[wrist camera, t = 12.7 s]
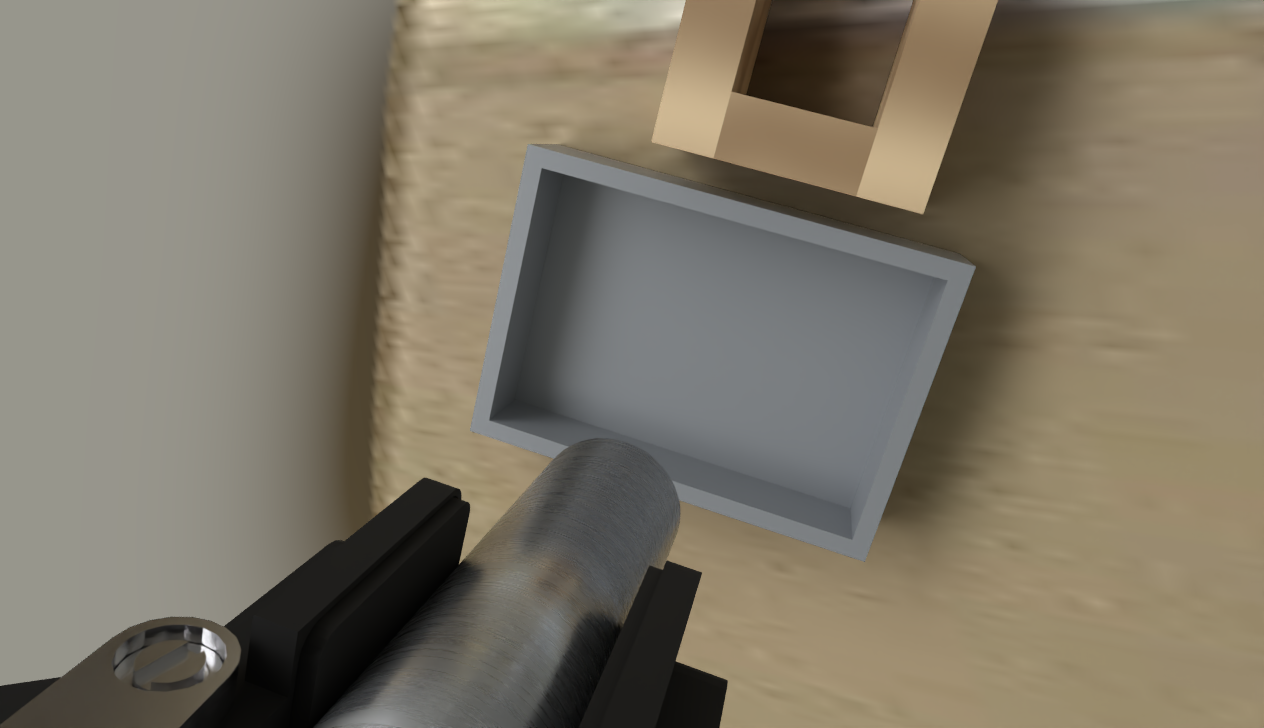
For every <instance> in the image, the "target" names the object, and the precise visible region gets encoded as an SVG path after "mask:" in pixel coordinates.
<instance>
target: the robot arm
mask: <svg viewBox="0 0 1264 728" xmlns="http://www.w3.org/2000/svg"><path fill="white" fill-rule="evenodd" d="M469 513H470V504H469V503H468V502H465V501H463V500H461V491H460V489H457V488H454V487H452V486H449V485H446V484H443V483H440V482H437V481H434V480H431V479H428V478H423V479H421V480H420V481H419V482H417V483H416V484H415V485H414V486H412V487H411V488H410V489H409V490H407V491H406V492H405V493H404V494H403V495H401V496H400V497H399V498H398V499H396V500H395V501H394V502H393V503H391V504H390V505H389V506H388V507H386V508H385V509H384V510H383V511H381V512H380V513H379V514H378V515H376V516H375V517H374V518H373V519H371V520H370V521H369V522H368V523H366V524H365V525H364V526H363V527H362V528H360V529H359V530H358V531H357V532H355V533H354V534H353V535H352V536H350V537H349V538H348V539H347V540H346V541H342V540H336V541H334V542H332V543H330V544H328V545H327V546H326V547H324V548H323V549H322V550H321V551H319V552H318V553H317V554H315V555H314V556H313V557H312V558H311V559H309V560H308V561H307V562H305V563H304V564H303V565H302V566H300V567H299V568H298V569H296V570H295V571H294V572H293V573H291V574H290V575H289V576H288V577H286V578H285V579H284V580H282V581H281V582H280V583H279V584H277V585H276V586H275V587H274V588H272V589H271V590H270V591H268V592H267V593H266V594H265V595H263V596H262V597H261V598H259V599H258V600H257V601H256V602H254V603H253V604H252V605H251V606H249V607H248V608H247V609H245V610H244V611H243V612H242V613H240V614H239V615H238V616H237V617H235V618H234V619H233V620H232V621H230V622H229V623H228V624H226V625H225V626H221V625H219V624H217V623H215V622H213V621H210V620H205V619H200V618H195V617H166V618H161V619H154V620H149V621H146V622H143V623H140V624H137V625H134V626H132V627H129V628H127V629H126V630H124V631H122V632H121V633H119V634H117V635H116V636H114V637H112V638H111V639H110V640H109V641H107V642H106V643H105V644H103V645H102V646H101V647H99V648H98V649H97V650H96V651H94V652H93V653H92V654H90V655H89V656H88V657H87V658H85V659H84V660H83V661H81V662H80V663H79V664H78V665H76V666H75V667H74V668H72V669H71V670H70V671H69V672H67V673H66V674H65V675H63V676H62V677H58V678H52V679H45V680H38V681H31V682H24V683H17V684H11V685H4V686H0V728H313V727H314V726H315V725H316V724H317V723H318V721H319V720H320V719H321V718H322V717H323V716H324V715H325V714H326V713H327V711H328V710H329V709H330V708H331V707H332V706H333V705H334V704H335V703H336V701H337V700H338V699H339V698H340V697H341V696H342V695H343V694H344V692H345V691H346V690H347V689H348V688H349V687H350V686H351V685H352V684H353V682H354V681H355V680H356V679H357V678H358V677H359V676H360V675H361V674H362V672H363V671H364V670H365V669H366V668H367V667H368V666H369V665H370V663H371V662H372V661H373V660H374V659H375V658H376V657H377V656H378V655H379V653H380V652H381V651H382V650H383V649H384V648H385V647H386V646H387V645H388V643H389V642H390V641H391V640H392V639H393V638H394V637H395V636H396V634H397V633H398V632H399V631H400V630H401V629H402V628H403V627H404V626H405V624H406V623H407V622H408V621H409V620H410V619H411V618H412V617H413V616H414V614H415V613H416V612H417V611H418V610H419V609H420V608H421V607H422V605H423V604H424V603H425V602H426V601H427V600H428V599H429V598H430V597H431V595H432V594H433V593H434V592H435V591H436V590H437V589H438V588H439V587H440V585H441V584H442V583H443V582H444V581H445V580H446V579H447V578H448V576H449V575H450V574H451V573H452V572H453V571H454V570H455V569H456V568H457V566H458V565H459V561H460V556H461V551H462V546H463V542H464V537H465V532H466V527H467V523H468V518H469ZM701 575H702V573H701V572H699V571H696V570H693V569H690V568H687V567H684V566H681V565H678V564H675V563H672V562H669V561H666V563H665V565H664V568H663V570H662V569H659V568H656V567H653V566H650V565H649V567H648V569H647V572H646V574H645V576H644V579H643V581H642V583H641V586H640V588H639V590H638V592H637V595H636V597H635V599H634V602H633V604H632V606H631V609H630V611H629V613H628V615H627V618H626V620H625V622H624V625H623V627H622V629H621V631H620V634H619V636H618V638H617V641H616V643H615V645H614V648H613V650H612V652H611V654H610V657H609V659H608V661H607V664H606V666H605V668H604V670H603V673H602V675H601V677H600V680H599V682H598V684H597V687H596V689H595V691H594V693H593V696H592V698H591V700H590V703H589V705H588V707H587V710H586V712H585V714H584V716H583V719H582V721H581V724H580V726H579V728H719V726H720V721H721V716H722V711H723V705H724V700H725V695H726V690H727V683H728V682H727V680H725V679H723V678H720V677H717V676H714V675H712V674H709V673H706V672H703V671H701V670H698V669H695V668H692V667H689V666H687V665H684V664H681V663H678V662H676V657H677V654H678V651H679V647H680V644H681V641H682V637H683V634H684V631H685V628H686V624H687V621H688V618H689V614H690V611H691V608H692V604H693V601H694V598H695V594H696V591H697V588H698V585H699V581H700V578H701Z"/></svg>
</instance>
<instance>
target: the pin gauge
mask: <svg viewBox="0 0 1264 728" xmlns="http://www.w3.org/2000/svg"><path fill="white" fill-rule="evenodd" d="M679 523H680V503H679V498H678V494H677V491H676V488H675V486H674V484H673V482H672V480H671V478H670V476H669V475H668V473H667V472H666V470H665V469H664V468H663V467H662V466H661V464H660V463H659V462H658V461H657V460H656V459H654V458H653V457H652V456H651V455H650V454H648V453H647V452H645V451H644V450H642V449H640V448H639V447H637V446H635V445H632V444H630V443H627V442H624V441H621V440H617V439H609V438H595V439H588V440H584V441H581V442H578V443H576V444H573V445H571V446H569V447H568V448H566V449H564V450H563V451H562V452H561V453H559V454H558V455H557V456H556V457H555V458H554V459H553V460H552V462H551V463H550V464H549V465H548V466H547V467H546V468H545V469H544V470H543V472H542V473H541V474H540V475H539V476H538V477H537V478H536V479H535V481H534V482H533V483H532V484H531V485H530V486H529V487H528V488H527V489H526V491H525V492H524V493H523V494H522V495H521V496H520V497H519V498H518V499H517V501H516V502H515V503H514V504H513V505H512V506H511V507H510V508H509V510H508V511H507V512H506V513H505V514H504V515H503V516H502V517H501V518H500V520H499V521H498V522H497V523H496V524H495V525H494V526H493V527H492V528H491V530H490V531H489V532H488V533H487V534H486V535H485V536H484V537H483V539H482V540H481V541H480V542H479V543H478V544H477V545H476V546H475V547H474V549H473V550H472V551H471V552H470V553H469V554H468V555H467V556H466V558H465V559H464V560H463V561H462V562H461V563H460V564H459V565H458V566H457V568H456V569H455V570H454V571H453V572H452V573H451V574H450V575H449V576H448V578H447V579H446V580H445V581H444V582H443V583H442V584H441V585H440V587H439V588H438V589H437V590H436V591H435V592H434V593H433V594H432V595H431V597H430V598H429V599H428V600H427V601H426V602H425V603H424V604H423V605H422V607H421V608H420V609H419V610H418V611H417V612H416V613H415V614H414V616H413V617H412V618H411V619H410V620H409V621H408V622H407V623H406V624H405V626H404V627H403V628H402V629H401V630H400V631H399V632H398V633H397V634H396V636H395V637H394V638H393V639H392V640H391V641H390V642H389V643H388V645H387V646H386V647H385V648H384V649H383V650H382V651H381V652H380V653H379V655H378V656H377V657H376V658H375V659H374V660H373V661H372V662H371V663H370V665H369V666H368V667H367V668H366V669H365V670H364V671H363V672H362V674H361V675H360V676H359V677H358V678H357V679H356V680H355V681H354V682H353V684H352V685H351V686H350V687H349V688H348V689H347V690H346V691H345V692H344V694H343V695H342V696H341V697H340V698H339V699H338V700H337V701H336V703H335V704H334V705H333V706H332V707H331V708H330V709H329V710H328V711H327V713H326V714H325V715H324V716H323V717H322V718H321V719H320V720H319V721H318V723H317V724H316V725H315V726H314V727H313V728H579V726H580V724H581V721H582V719H583V716H584V714H585V712H586V710H587V707H588V705H589V703H590V700H591V698H592V696H593V693H594V691H595V689H596V687H597V684H598V682H599V680H600V677H601V675H602V673H603V670H604V668H605V666H606V664H607V661H608V659H609V657H610V654H611V652H612V650H613V648H614V645H615V643H616V641H617V638H618V636H619V634H620V631H621V629H622V627H623V625H624V622H625V620H626V618H627V615H628V613H629V611H630V609H631V606H632V604H633V602H634V599H635V597H636V595H637V592H638V590H639V588H640V586H641V583H642V581H643V579H644V576H645V574H646V572H647V569H648V567H649V565H650V566H653V567H656V568H659V569H662V570H663V567H664V565H665V562H666V560H667V557H668V555H669V552H670V550H671V547H672V545H673V542H674V540H675V537H676V534H677V532H678V528H679Z"/></svg>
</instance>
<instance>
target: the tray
mask: <svg viewBox="0 0 1264 728" xmlns="http://www.w3.org/2000/svg"><path fill="white" fill-rule="evenodd" d="M975 268H976V266H975V265H973V264H972V263H971V262H970V261H968V260H967V259H966V258H965V257H963V256H962V255H961V254H959V253H955V252H952V251H948V250H944V249H940V248H937V247H933V246H929V245H926V244H922V243H918V242H915V241H911V240H907V239H904V238H900V237H896V236H893V235H889V234H885V233H882V232H878V231H874V230H871V229H867V228H863V227H860V226H856V225H852V224H849V223H845V222H841V221H838V220H834V219H830V218H827V217H823V216H819V215H816V214H812V213H808V212H805V211H801V210H797V209H793V208H790V207H786V206H782V205H779V204H775V203H771V202H768V201H764V200H760V199H757V198H753V197H749V196H746V195H742V194H738V193H735V192H731V191H727V190H724V189H720V188H716V187H713V186H709V185H705V184H702V183H698V182H694V181H691V180H687V179H683V178H680V177H676V176H672V175H669V174H665V173H661V172H658V171H654V170H650V169H646V168H643V167H639V166H635V165H632V164H628V163H624V162H621V161H617V160H613V159H610V158H606V157H602V156H599V155H595V154H591V153H588V152H584V151H580V150H577V149H573V148H569V147H566V146H562V145H558V144H528V146H527V151H526V156H525V161H524V166H523V171H522V176H521V181H520V186H519V191H518V196H517V201H516V206H515V211H514V216H513V220H512V225H511V230H510V235H509V240H508V245H507V250H506V255H505V260H504V265H503V270H502V275H501V280H500V285H499V290H498V295H497V299H496V304H495V309H494V314H493V319H492V324H491V329H490V334H489V339H488V344H487V349H486V354H485V359H484V364H483V369H482V374H481V379H480V383H479V388H478V393H477V398H476V403H475V408H474V413H473V418H472V423H471V428H470V431H472V432H475V433H478V434H481V435H484V436H487V437H490V438H493V439H496V440H499V441H502V442H505V443H508V444H511V445H514V446H517V447H520V448H523V449H526V450H529V451H532V452H535V453H538V454H541V455H544V456H548V457H551V458H555V457H556V456H557V455H558V454H559V453H561V452H562V451H563V450H564V449H566V448H568V447H569V446H571V445H573V444H576V443H578V442H581V441H584V440H588V439H595V438H609V439H617V440H621V441H624V442H627V443H630V444H632V445H635V446H637V447H639V448H640V449H642V450H644V451H645V452H647V453H648V454H650V455H651V456H652V457H653V458H654V459H656V460H657V461H658V462H659V463H660V464H661V466H662V467H663V468H664V469H665V470H666V472H667V473H668V475H669V476H670V478H671V480H672V482H673V484H674V486H675V488H676V491H677V494H678V498H679V500H680V501H683V502H686V503H689V504H692V505H695V506H698V507H701V508H704V509H707V510H710V511H713V512H716V513H719V514H722V515H725V516H728V517H731V518H734V519H737V520H740V521H743V522H746V523H749V524H752V525H755V526H758V527H761V528H764V529H767V530H770V531H773V532H776V533H779V534H782V535H785V536H788V537H791V538H794V539H797V540H800V541H803V542H806V543H809V544H812V545H815V546H818V547H821V548H824V549H827V550H830V551H833V552H836V553H839V554H842V555H845V556H848V557H851V558H854V559H857V560H860V561H864V562H865V560H866V557H867V554H868V552H869V549H870V546H871V544H872V541H873V538H874V536H875V533H876V530H877V528H878V525H879V522H880V520H881V517H882V514H883V512H884V509H885V507H886V504H887V501H888V499H889V496H890V493H891V491H892V488H893V485H894V483H895V480H896V477H897V475H898V472H899V469H900V467H901V464H902V461H903V459H904V456H905V453H906V451H907V448H908V446H909V443H910V440H911V438H912V435H913V432H914V430H915V427H916V424H917V422H918V419H919V416H920V414H921V411H922V408H923V406H924V403H925V400H926V398H927V395H928V393H929V390H930V387H931V385H932V382H933V379H934V377H935V374H936V371H937V369H938V366H939V363H940V361H941V358H942V355H943V353H944V350H945V347H946V345H947V342H948V339H949V337H950V334H951V332H952V329H953V326H954V324H955V321H956V318H957V316H958V313H959V310H960V308H961V305H962V302H963V300H964V297H965V294H966V292H967V289H968V286H969V284H970V281H971V279H972V276H973V273H974V271H975Z"/></svg>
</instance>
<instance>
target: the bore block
mask: <svg viewBox="0 0 1264 728" xmlns="http://www.w3.org/2000/svg"><path fill="white" fill-rule="evenodd" d="M997 2H998V0H913V3H912V6H911V9H910V13H909V16H908V19H907V22H906V25H905V28H904V31H903V34H902V37H901V41H900V44H899V47H898V50H897V53H896V56H895V59H894V62H893V65H892V69H891V72H890V75H889V78H888V81H887V84H886V87H885V90H884V93H883V96H882V100H881V103H880V106H879V109H878V112H877V115H876V118H875V121H874V124H873V127H869V126H866V125H862V124H858V123H854V122H850V121H846V120H842V119H838V118H834V117H830V116H826V115H822V114H818V113H814V112H810V111H806V110H802V109H798V108H794V107H790V106H787V105H783V104H779V103H775V102H771V101H767V100H763V99H759V98H755V97H751V96H747V95H746V94H747V90H748V87H749V83H750V79H751V76H752V72H753V68H754V65H755V61H756V57H757V54H758V50H759V46H760V43H761V39H762V36H763V32H764V28H765V25H766V21H767V17H768V14H769V10H770V6H771V3H772V0H686V3H685V7H684V11H683V15H682V19H681V23H680V27H679V31H678V35H677V39H676V43H675V47H674V51H673V56H672V60H671V64H670V68H669V72H668V76H667V80H666V84H665V88H664V92H663V96H662V100H661V104H660V108H659V113H658V117H657V121H656V125H655V129H654V133H653V137H652V141H651V142H653V143H657V144H661V145H665V146H668V147H672V148H676V149H680V150H683V151H687V152H691V153H695V154H698V155H702V156H706V157H710V158H713V159H717V160H721V161H725V162H729V163H732V164H736V165H740V166H744V167H747V168H751V169H755V170H759V171H762V172H766V173H770V174H774V175H777V176H781V177H785V178H789V179H792V180H796V181H800V182H804V183H807V184H811V185H815V186H819V187H822V188H826V189H830V190H834V191H837V192H841V193H845V194H849V195H852V196H856V197H860V198H864V199H867V200H871V201H875V202H879V203H882V204H886V205H890V206H894V207H897V208H901V209H905V210H909V211H912V212H916V213H920V214H923V213H924V210H925V207H926V205H927V202H928V199H929V196H930V193H931V190H932V187H933V185H934V182H935V179H936V176H937V173H938V170H939V167H940V165H941V162H942V159H943V156H944V153H945V150H946V148H947V145H948V142H949V139H950V136H951V133H952V130H953V128H954V125H955V122H956V119H957V116H958V113H959V110H960V108H961V105H962V102H963V99H964V96H965V93H966V90H967V88H968V85H969V82H970V79H971V76H972V73H973V70H974V68H975V65H976V62H977V59H978V56H979V53H980V50H981V48H982V45H983V42H984V39H985V36H986V33H987V30H988V28H989V25H990V22H991V19H992V16H993V13H994V10H995V8H996V5H997Z"/></svg>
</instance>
